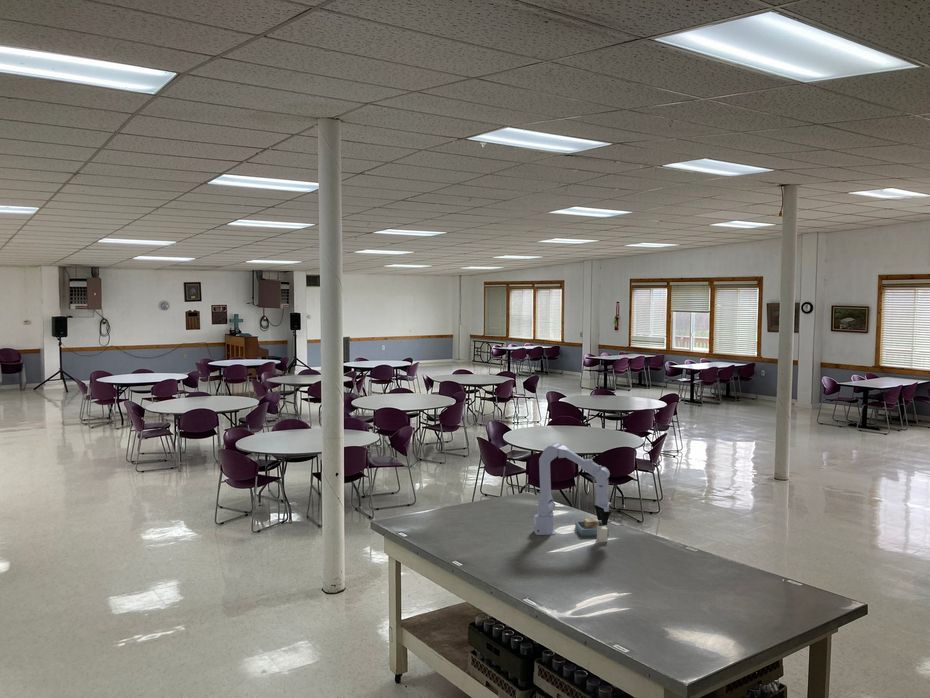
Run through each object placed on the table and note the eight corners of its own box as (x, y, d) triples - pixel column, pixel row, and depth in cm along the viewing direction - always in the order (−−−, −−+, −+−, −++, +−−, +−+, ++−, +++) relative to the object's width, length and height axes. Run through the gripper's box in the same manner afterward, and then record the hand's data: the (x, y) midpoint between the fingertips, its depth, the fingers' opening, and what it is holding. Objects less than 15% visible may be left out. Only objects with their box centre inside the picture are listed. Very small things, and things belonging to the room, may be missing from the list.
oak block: (586, 531, 327) (586, 521, 327) (584, 528, 332) (584, 518, 332) (598, 531, 327) (598, 521, 327) (596, 528, 332) (596, 518, 332)
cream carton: (599, 541, 316) (599, 529, 315) (596, 539, 320) (596, 526, 319) (607, 541, 316) (607, 529, 315) (605, 538, 320) (605, 526, 319)
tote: (581, 536, 323) (581, 529, 322) (575, 528, 336) (575, 521, 335) (608, 536, 323) (608, 528, 323) (601, 527, 336) (601, 520, 336)
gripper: (615, 497, 310) (615, 527, 310) (606, 489, 324) (606, 517, 325) (600, 498, 309) (599, 527, 310) (591, 490, 324) (591, 518, 324)
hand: (602, 522), depth 317 cm, fingers open, 7 cm apart
